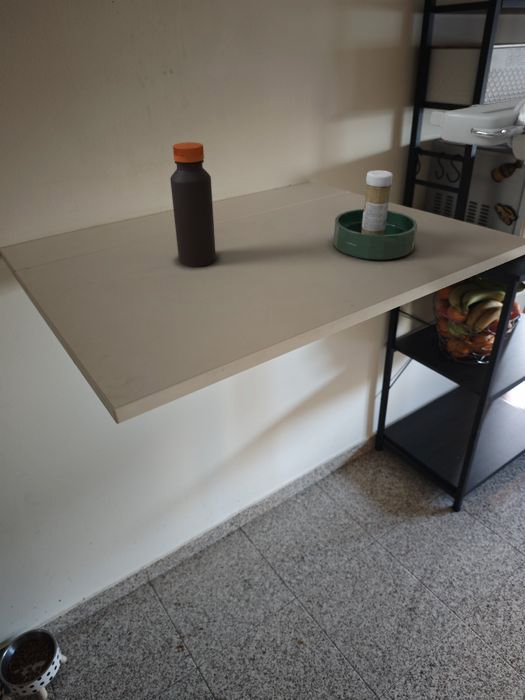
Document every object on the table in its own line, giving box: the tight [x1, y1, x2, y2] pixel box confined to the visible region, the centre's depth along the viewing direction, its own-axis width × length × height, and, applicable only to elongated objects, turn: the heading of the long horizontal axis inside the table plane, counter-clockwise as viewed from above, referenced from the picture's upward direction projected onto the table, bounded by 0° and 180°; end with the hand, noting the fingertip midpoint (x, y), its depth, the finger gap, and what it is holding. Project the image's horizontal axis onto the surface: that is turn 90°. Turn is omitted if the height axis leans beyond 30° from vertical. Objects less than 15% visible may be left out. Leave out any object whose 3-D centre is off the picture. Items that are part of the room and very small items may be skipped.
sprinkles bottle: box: [362, 169, 394, 235], centre depth 93 cm, size 5×5×13 cm
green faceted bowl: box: [332, 208, 418, 261], centre depth 95 cm, size 15×15×5 cm
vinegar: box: [169, 141, 217, 268], centre depth 86 cm, size 7×7×20 cm
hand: (452, 114), depth 75 cm, fingers open, 8 cm apart
